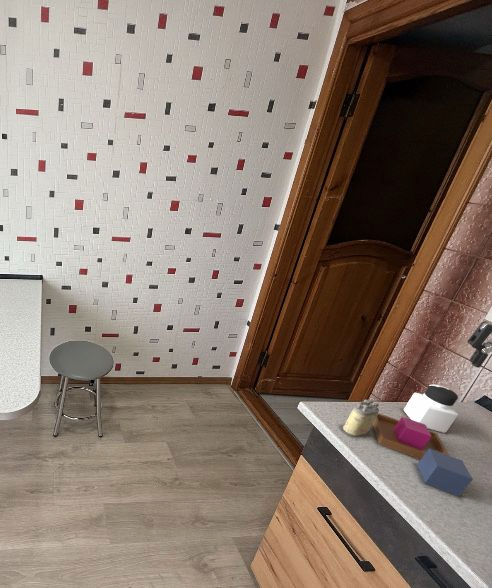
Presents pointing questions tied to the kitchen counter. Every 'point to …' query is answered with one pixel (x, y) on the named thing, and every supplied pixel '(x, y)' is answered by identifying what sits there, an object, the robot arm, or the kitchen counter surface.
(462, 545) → the kitchen counter surface
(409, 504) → the kitchen counter surface
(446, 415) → the medicine bottle
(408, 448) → the tray
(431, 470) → the slate block
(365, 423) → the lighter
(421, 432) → the mulberry block
